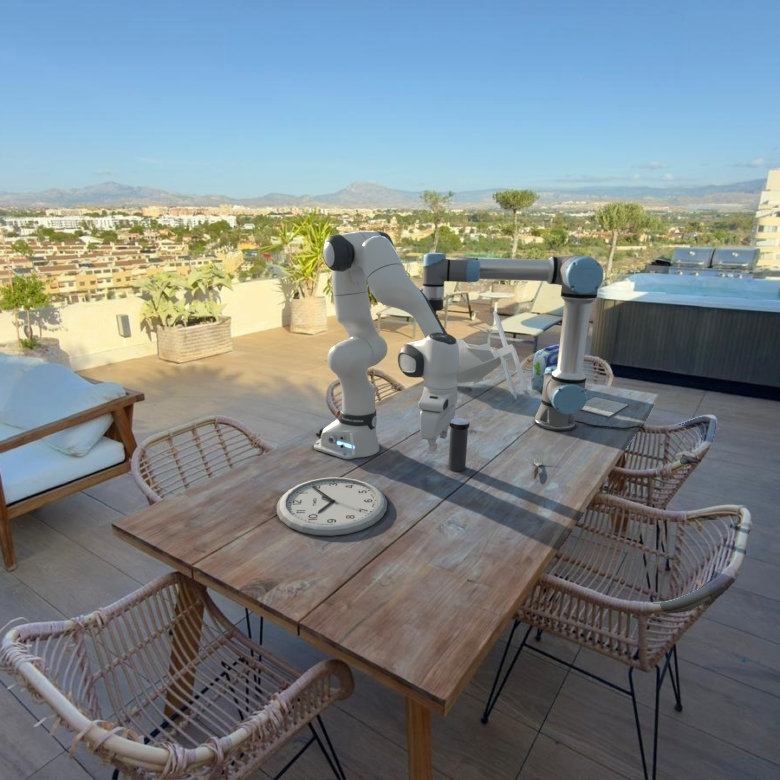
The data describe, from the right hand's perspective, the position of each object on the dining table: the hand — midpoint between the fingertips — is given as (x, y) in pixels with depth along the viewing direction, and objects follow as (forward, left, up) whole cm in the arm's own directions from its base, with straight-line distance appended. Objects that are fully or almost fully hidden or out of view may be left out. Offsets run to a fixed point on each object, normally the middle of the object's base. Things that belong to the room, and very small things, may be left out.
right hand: (430, 357), depth 190 cm
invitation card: (-73, -38, -28) cm, 87 cm away
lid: (-11, +32, -13) cm, 36 cm away
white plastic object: (-22, -50, -28) cm, 61 cm away
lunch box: (-56, -61, -28) cm, 88 cm away
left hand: (-5, +53, -11) cm, 54 cm away
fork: (-36, +30, -28) cm, 55 cm away
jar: (-11, +32, -28) cm, 44 cm away
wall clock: (+23, +61, -28) cm, 71 cm away
